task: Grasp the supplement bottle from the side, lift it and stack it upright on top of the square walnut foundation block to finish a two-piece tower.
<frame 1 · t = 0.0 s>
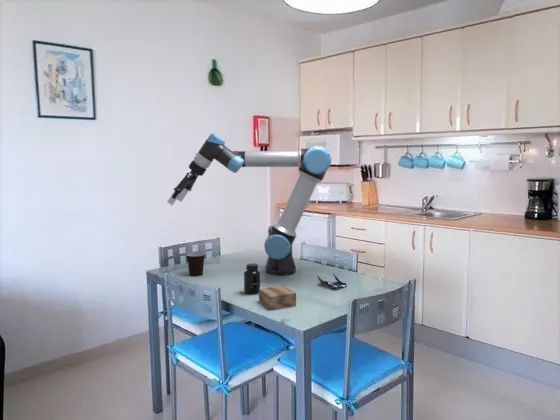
hand: (174, 202, 208), 36 cm above the table, tool tilted 35°, fingers open, 13 cm apart
supplement bottle: (252, 292, 191), on the table
foundation block: (277, 303, 178), on the table
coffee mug: (197, 274, 220), on the table
dark blue angular piece: (332, 287, 199), on the table
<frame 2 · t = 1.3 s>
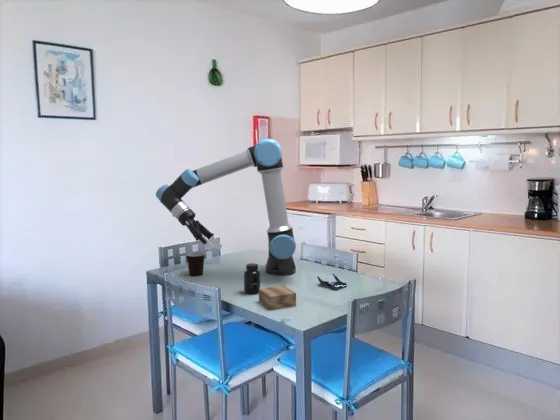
hand: (216, 248, 197), 17 cm above the table, tool tilted 45°, fingers open, 13 cm apart
nothing on the table moved.
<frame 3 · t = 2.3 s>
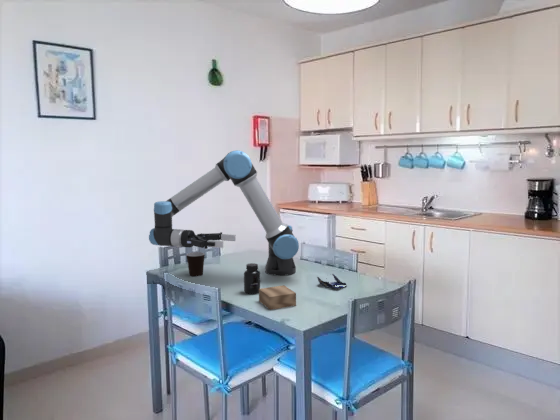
hand: (229, 241, 191), 22 cm above the table, tool horizontal, fingers open, 13 cm apart
nothing on the table moved.
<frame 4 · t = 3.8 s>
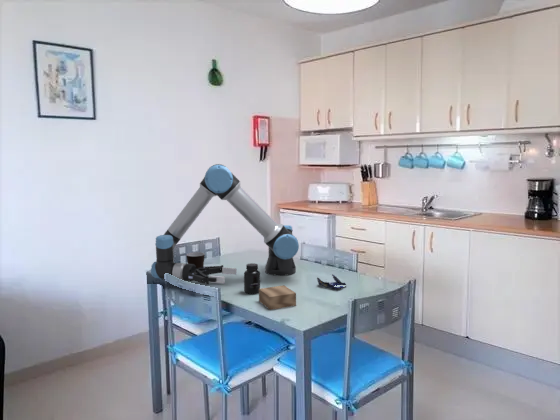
hand: (230, 275, 193), 7 cm above the table, tool horizontal, fingers open, 13 cm apart
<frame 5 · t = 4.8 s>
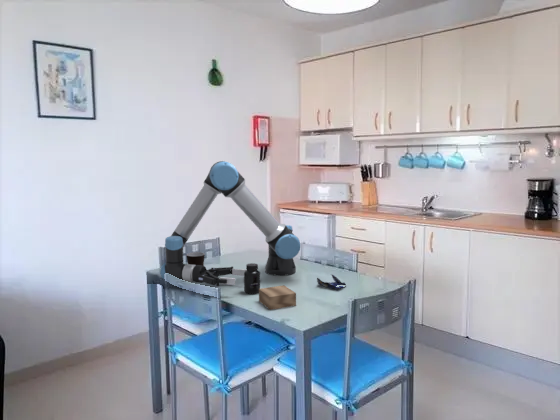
hand: (240, 277, 191), 6 cm above the table, tool horizontal, fingers open, 13 cm apart
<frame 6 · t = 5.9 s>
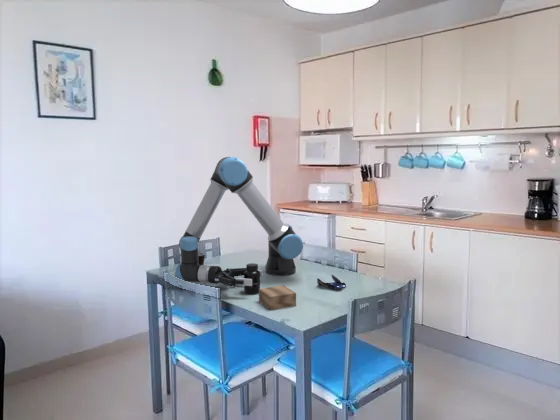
hand: (257, 277, 190), 6 cm above the table, tool horizontal, fingers open, 13 cm apart
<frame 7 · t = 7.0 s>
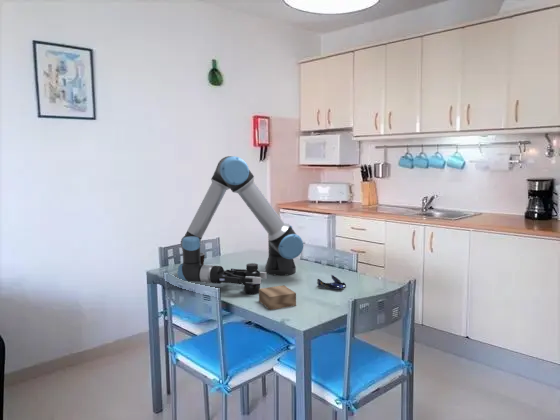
hand: (263, 278, 189), 7 cm above the table, tool horizontal, fingers closed on supplement bottle, 7 cm apart
supplement bottle: (252, 292, 191), on the table, touching gripper
when the fingers open (13 cm above the table, at t = 11.1 s): supplement bottle drops 1 cm, resting on foundation block.
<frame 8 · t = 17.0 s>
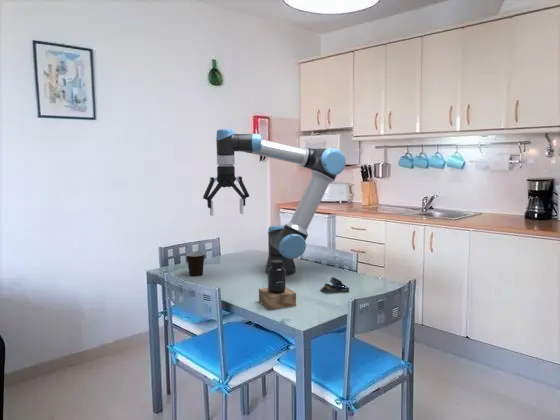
hand: (226, 214, 197), 32 cm above the table, tool pointing down, fingers open, 13 cm apart
supplement bottle: (276, 291, 177), point 5 cm above the table, touching foundation block
dark blue angular piece: (335, 291, 194), on the table
everything else where it was.
at the end: supplement bottle 0.1 cm from the foundation block (horizontally); supplement bottle inside the target area on the foundation block (0.1 cm from its centre), point 4.8 cm above the foundation block's base; supplement bottle tilted 0° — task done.
